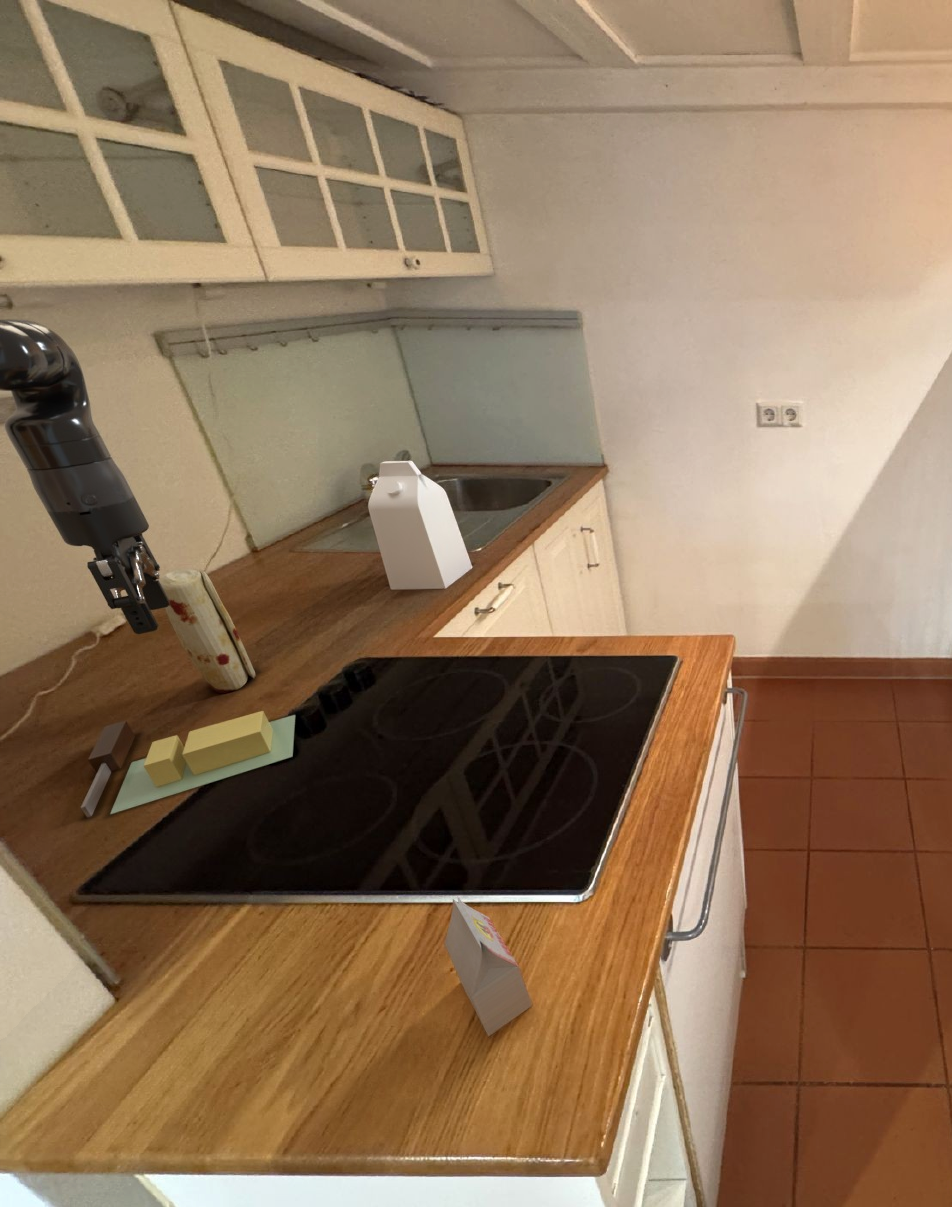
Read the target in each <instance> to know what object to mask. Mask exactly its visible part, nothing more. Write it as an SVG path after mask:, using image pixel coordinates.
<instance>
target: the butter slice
mask: <svg viewBox="0 0 952 1207" xmlns="http://www.w3.org/2000/svg"><path fill="white" fill-rule="evenodd" d="M184 747H185V745H184V744H183V743H182V741H181V739H180V738H179V736H178V734H176V735H172V736H169V737H165V738H161V739H157V740H155V741H152V743H151V745H150V748H149V750H148V752H147V756H146V757H145V758H146V760H145V763H144V765H143V766H144V768H145V769H146V771H147V773H148V774H149V776H150V778H151V779H152V781H153V782H154V784H155V786H156V787H159V786H162V785H165V784H168V783H172V782H175V781H178V780H181V779H182V777H183V774H184V770H185V767H186V763H187V762H186V760H185V758H184V757H183V755H182V753H183V750H184Z"/></svg>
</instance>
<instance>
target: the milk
mask: <svg viewBox="0 0 952 1207" xmlns="http://www.w3.org/2000/svg"><path fill="white" fill-rule="evenodd" d="M378 476H379V477H378V478H377V480H376V483H375V485H374V487H373V489H372V492H371V494H370V496H369V499H368V503H367V509H368V513H369V517H370V520H371V524H372V528H373V531H374V534H375V538H376V542H377V545H378V549H379V553H380V556H381V560H382V563H383V567H384V570H385V574H386V578H387V581H388V585H389V588H390V590H392V591H393V590H394V591H395V590H441V589H442V590H443V589H448V588H449V587H450V586H451V585H452V584H454V583H455V582H456V581H458V580H459V579H460V578H462V577H463V576H464V575H465V574H467V573H468V572H469V571H471V570H472V569H473V565H472V562H471V560H470V557H469V556H470V555H469V553H468V550H467V548H466V545H465V542H464V539H463V537H462V534H461V531H460V528H459V525H458V522H457V519H456V516H455V514H454V510H453V508H452V506H451V502H450V499H449V497H448V493H447V492H446V490H445V489H444V487H442V486H441V485H440V484H438V483H436V482H435V481H433V480H432V479H431V478H429V477H427V476H426V475H424V474H422V472H421V471H420V470H419V468H418V466H416V464H415V463H414V462H413V460H389V461H387V460H386V461H382V462H379V474H378Z"/></svg>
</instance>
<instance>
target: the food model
mask: <svg viewBox="0 0 952 1207" xmlns="http://www.w3.org/2000/svg"><path fill="white" fill-rule="evenodd" d="M158 580H159V582H160V584H161V586H162V588H163V590H164V592H165V594H166V595H167V597H168V599H169V601H170V604H169V606H168V607H165V608H164V609H165V613H166V616H167V618H168V620H169V622H170V624H171V626H172V628H173V630H174V632H175V634H176V637H177V639H178V641H179V643H180V645H181V647H182V649H183V650H184V652H185V654H186V655H187V657H188V658H189V660H190V661H191V663H192V664H193V666H194V668H196V670H197V671H198V673H200V674H201V676H202V677H203V678H204V679H205V681H206V682H207V684H208V685H209V686H210V688H211V689H212V690H213V691H215V692H216V693H219V694H227V693H230V692H233V691H237V690H239V689H241V688H242V687H243V686H245V684H246V683H247V681H248V679H249V676H250V678H252V679H255V677H256V672H255V669H254V667H253V664H252V662H251V660H250V658H249V655H248V653H247V650H246V648H245V646H244V644H243V641H242V639H241V637H240V634H239V632H238V630H237V627H236V626H235V624H234V622H233V619H232V618H231V616H230V614H229V611H228V610H227V608H226V607H225V605H224V603H223V602H222V599H221V598H220V596H219V594H218V592H217V590H216V588H215V586H214V584H213V582H212V580H211V578H210V577H209V576H208V574H207V573H206V571H205V570H203V569H197V568H194V569H177V570H173V571H168V572H166V573H165V574H164V575H162V576H160V577H159V579H158Z"/></svg>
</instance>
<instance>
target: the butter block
mask: <svg viewBox="0 0 952 1207" xmlns="http://www.w3.org/2000/svg"><path fill="white" fill-rule="evenodd" d="M269 722H270V721H269V719H268V717H267V715H266V714H265V711H264V710H260V711H257V712H253V713H250V714H247V715H242V716H240V717H239V716H238V717H236V718H235V717H234V718H232V719H229V720H225V721H221V722H217V723H214V724H210V725H207V726H203V727H200V728H196V729H193V730H190V731H188V734H187V737H186V740H185V744H184V750H183V753H182V755H183V757H184V758H185V760H186V762H187V764H188V765H189V767H190V769H191V771H192V772H193V774H194V775H197V774H201V773H204V772H207V771H210V770H214V769H217V768H220V767H223V766H227V765H230V764H233V763H236V762H239V761H243V760H246V759H249V758H252V757H256V756H259V755H262V754H265V753H269V752H270V751H271V742H272V734H273V730H272V728H271V726H270V723H269Z"/></svg>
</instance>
